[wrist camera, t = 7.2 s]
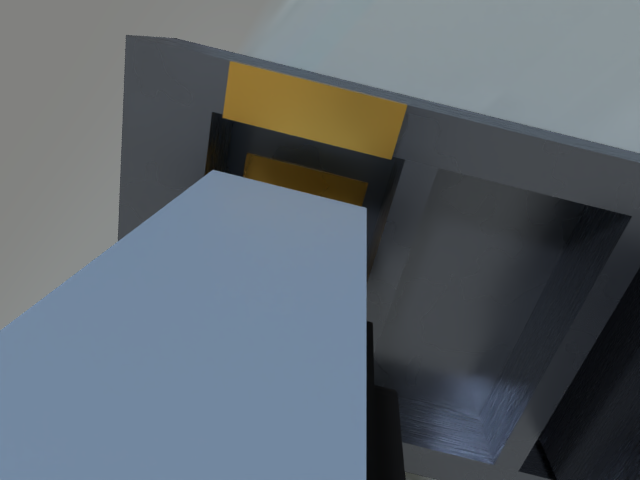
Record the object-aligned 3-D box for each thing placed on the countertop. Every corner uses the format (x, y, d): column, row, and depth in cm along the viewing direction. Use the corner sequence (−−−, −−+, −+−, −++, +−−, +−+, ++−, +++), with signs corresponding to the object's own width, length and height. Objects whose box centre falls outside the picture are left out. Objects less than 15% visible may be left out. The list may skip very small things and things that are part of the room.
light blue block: (211, 169, 10) (-257, 520, 2) (367, 208, 10) (372, 674, 2) (181, 404, 13) (-79, 896, 5) (302, 434, 13) (212, 970, 5)
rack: (175, 37, 13) (-15, 24, 6) (864, 208, 12) (1359, 366, 6) (150, 345, 17) (24, 515, 11) (657, 472, 17) (824, 718, 11)
